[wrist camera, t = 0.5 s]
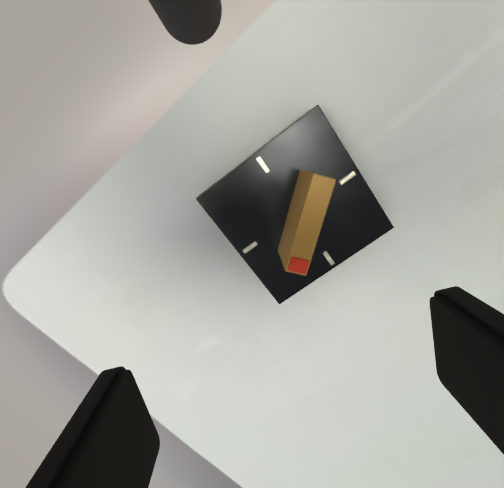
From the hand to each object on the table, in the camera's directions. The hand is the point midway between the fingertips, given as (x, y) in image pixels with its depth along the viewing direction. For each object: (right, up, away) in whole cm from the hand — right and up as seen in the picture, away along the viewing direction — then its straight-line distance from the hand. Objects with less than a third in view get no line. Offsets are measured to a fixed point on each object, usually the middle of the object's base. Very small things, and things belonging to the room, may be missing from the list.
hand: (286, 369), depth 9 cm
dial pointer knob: (+3, +6, +16) cm, 18 cm away
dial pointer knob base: (+3, +7, +19) cm, 21 cm away
